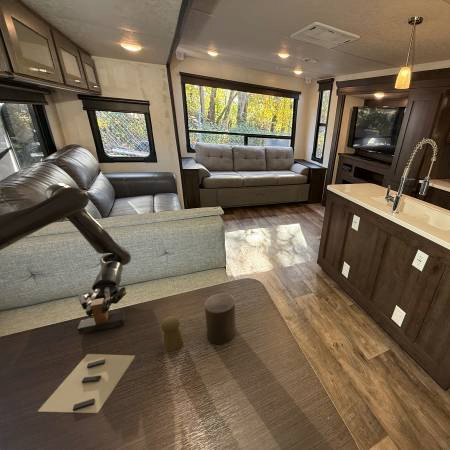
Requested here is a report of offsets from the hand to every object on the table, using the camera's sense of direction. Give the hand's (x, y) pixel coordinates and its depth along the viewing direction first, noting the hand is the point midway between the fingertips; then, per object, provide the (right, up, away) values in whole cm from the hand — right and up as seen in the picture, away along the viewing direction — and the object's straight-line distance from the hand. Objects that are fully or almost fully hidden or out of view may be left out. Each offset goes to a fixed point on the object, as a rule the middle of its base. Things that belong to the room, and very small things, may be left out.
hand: (96, 312), depth 78 cm
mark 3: (+10, -17, -16) cm, 26 cm away
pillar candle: (+37, -11, +9) cm, 39 cm away
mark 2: (+8, -15, -11) cm, 20 cm away
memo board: (+7, -16, -10) cm, 20 cm away
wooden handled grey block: (-2, -6, +5) cm, 8 cm away
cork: (+23, -12, +3) cm, 26 cm away
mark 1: (+5, -13, -6) cm, 15 cm away
